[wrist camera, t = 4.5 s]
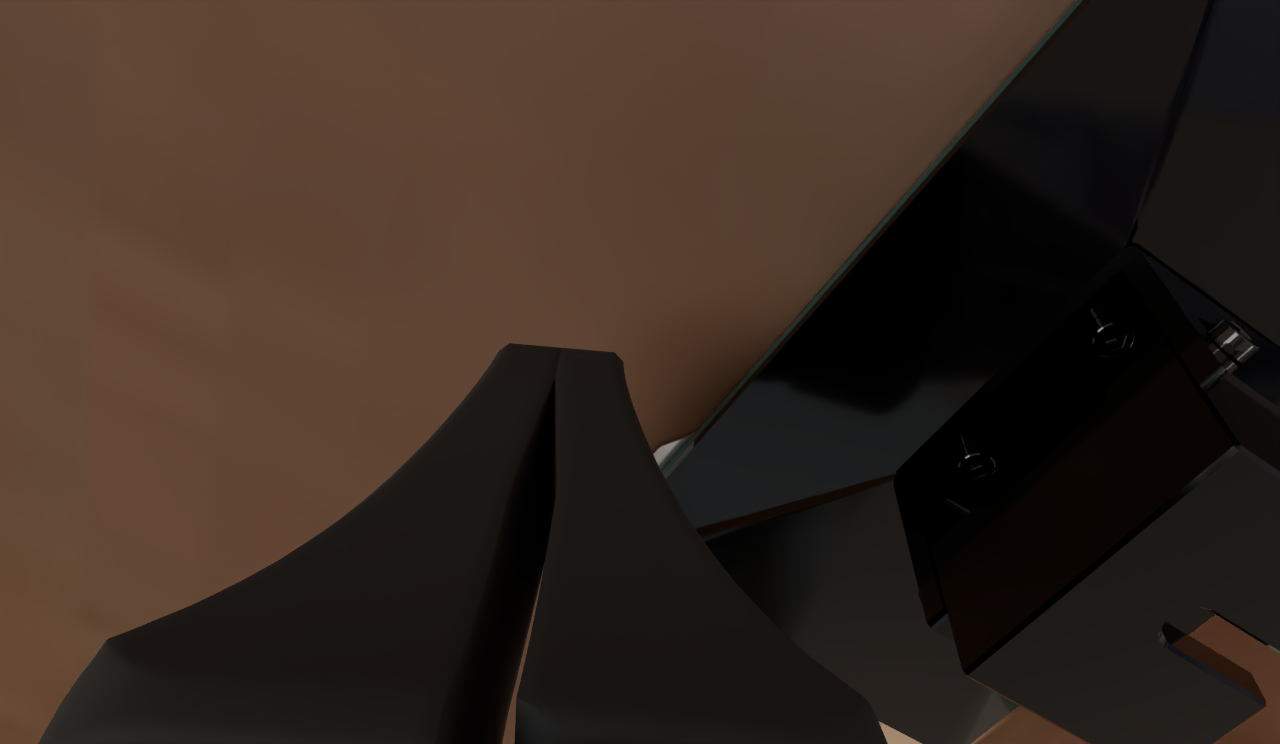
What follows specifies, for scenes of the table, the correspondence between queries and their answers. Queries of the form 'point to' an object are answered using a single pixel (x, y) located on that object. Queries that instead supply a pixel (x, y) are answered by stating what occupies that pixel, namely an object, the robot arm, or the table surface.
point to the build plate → (1037, 402)
